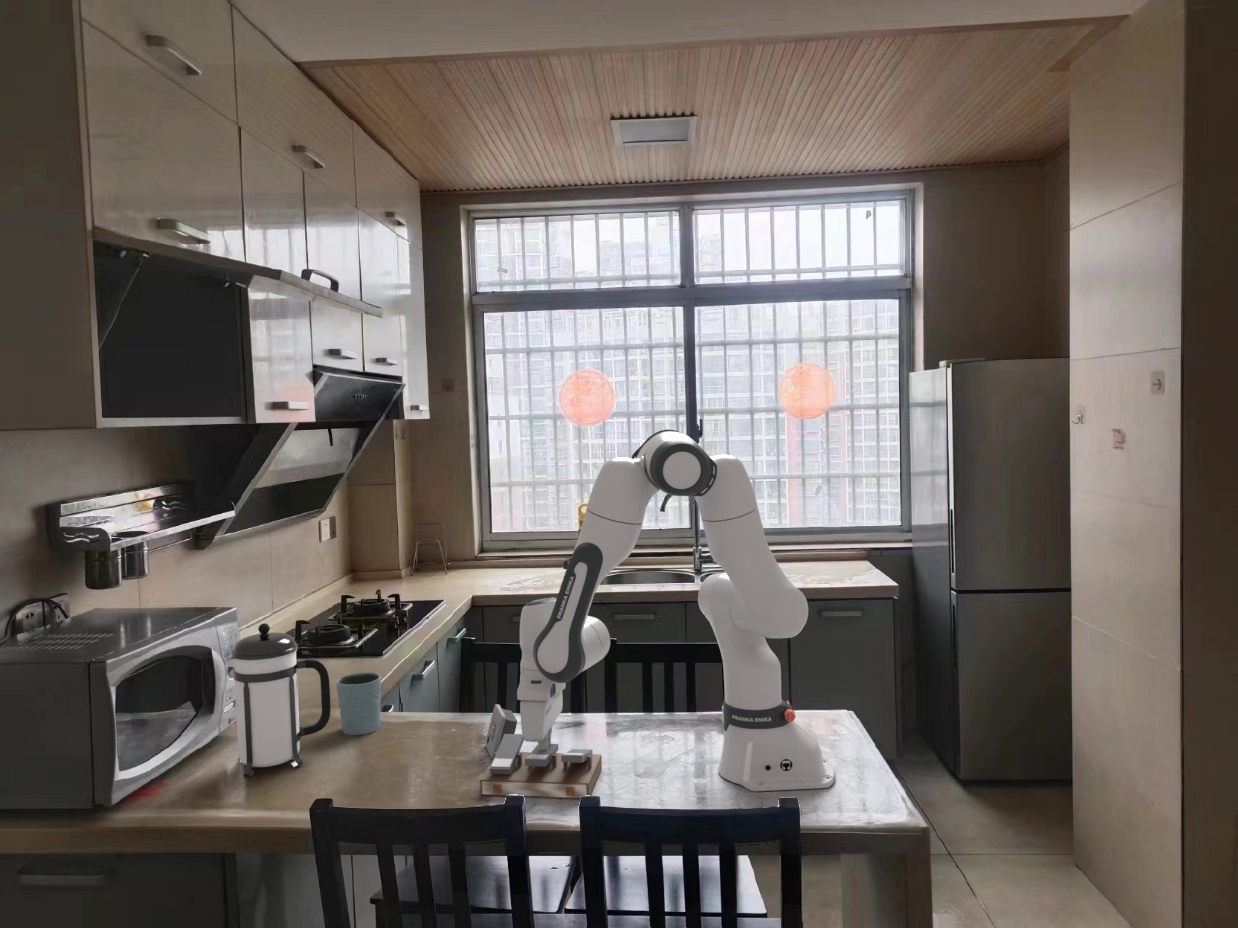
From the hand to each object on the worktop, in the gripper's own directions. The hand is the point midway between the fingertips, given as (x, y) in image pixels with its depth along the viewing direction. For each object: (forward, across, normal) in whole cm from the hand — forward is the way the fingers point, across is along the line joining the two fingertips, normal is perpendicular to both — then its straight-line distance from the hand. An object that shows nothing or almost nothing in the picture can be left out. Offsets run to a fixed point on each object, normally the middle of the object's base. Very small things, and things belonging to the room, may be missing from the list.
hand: (544, 748), depth 171 cm
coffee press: (+6, -3, -59) cm, 59 cm away
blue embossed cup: (+6, -24, -50) cm, 55 cm away
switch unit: (+6, +3, 0) cm, 6 cm away
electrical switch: (+6, -12, -13) cm, 19 cm away
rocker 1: (0, +3, -7) cm, 7 cm away
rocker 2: (0, +3, +7) cm, 8 cm away
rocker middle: (0, +3, 0) cm, 3 cm away
